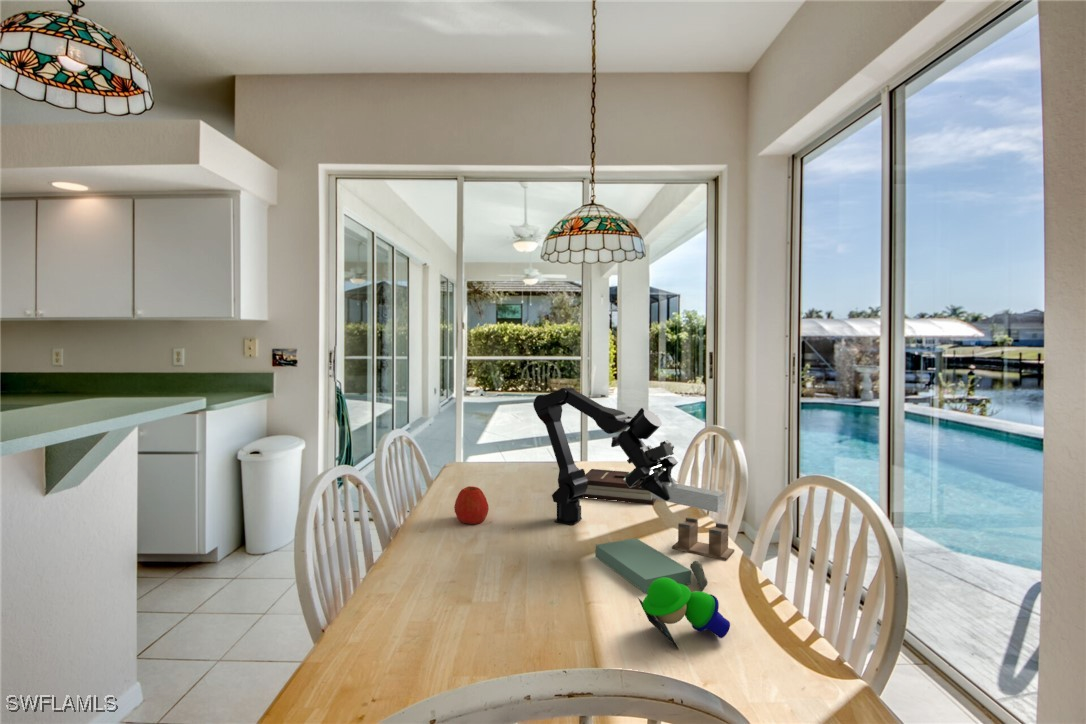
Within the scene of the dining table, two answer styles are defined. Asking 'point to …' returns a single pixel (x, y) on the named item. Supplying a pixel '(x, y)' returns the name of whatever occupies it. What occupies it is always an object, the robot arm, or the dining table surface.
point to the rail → (693, 496)
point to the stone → (699, 574)
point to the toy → (682, 608)
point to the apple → (471, 505)
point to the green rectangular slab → (641, 563)
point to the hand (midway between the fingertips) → (672, 498)
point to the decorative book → (615, 487)
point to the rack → (691, 544)
